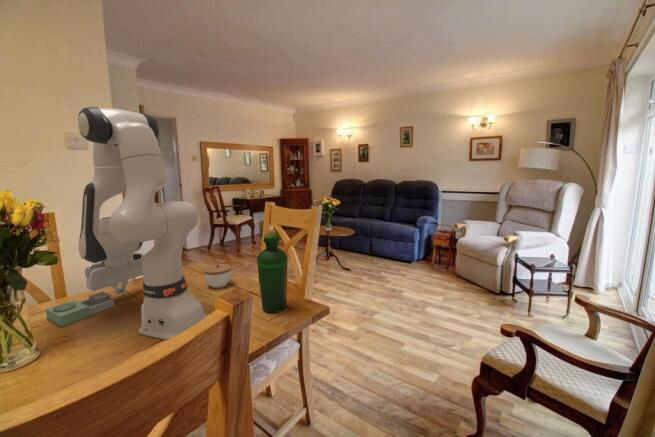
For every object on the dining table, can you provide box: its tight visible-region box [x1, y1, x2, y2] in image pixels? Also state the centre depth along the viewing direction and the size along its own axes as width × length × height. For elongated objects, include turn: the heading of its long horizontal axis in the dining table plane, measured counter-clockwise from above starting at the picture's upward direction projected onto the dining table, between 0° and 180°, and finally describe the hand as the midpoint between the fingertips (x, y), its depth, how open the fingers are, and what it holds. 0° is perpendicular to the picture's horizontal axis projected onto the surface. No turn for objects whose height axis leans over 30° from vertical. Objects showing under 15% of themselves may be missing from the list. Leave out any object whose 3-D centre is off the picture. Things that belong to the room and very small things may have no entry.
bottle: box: [256, 229, 288, 314], centre depth 109 cm, size 11×11×28 cm
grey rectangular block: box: [88, 291, 112, 307], centre depth 114 cm, size 6×4×4 cm
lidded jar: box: [203, 263, 232, 289], centre depth 131 cm, size 11×11×9 cm
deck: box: [45, 297, 116, 327], centre depth 109 cm, size 11×16×4 cm
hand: (120, 292), depth 120 cm, fingers closed
